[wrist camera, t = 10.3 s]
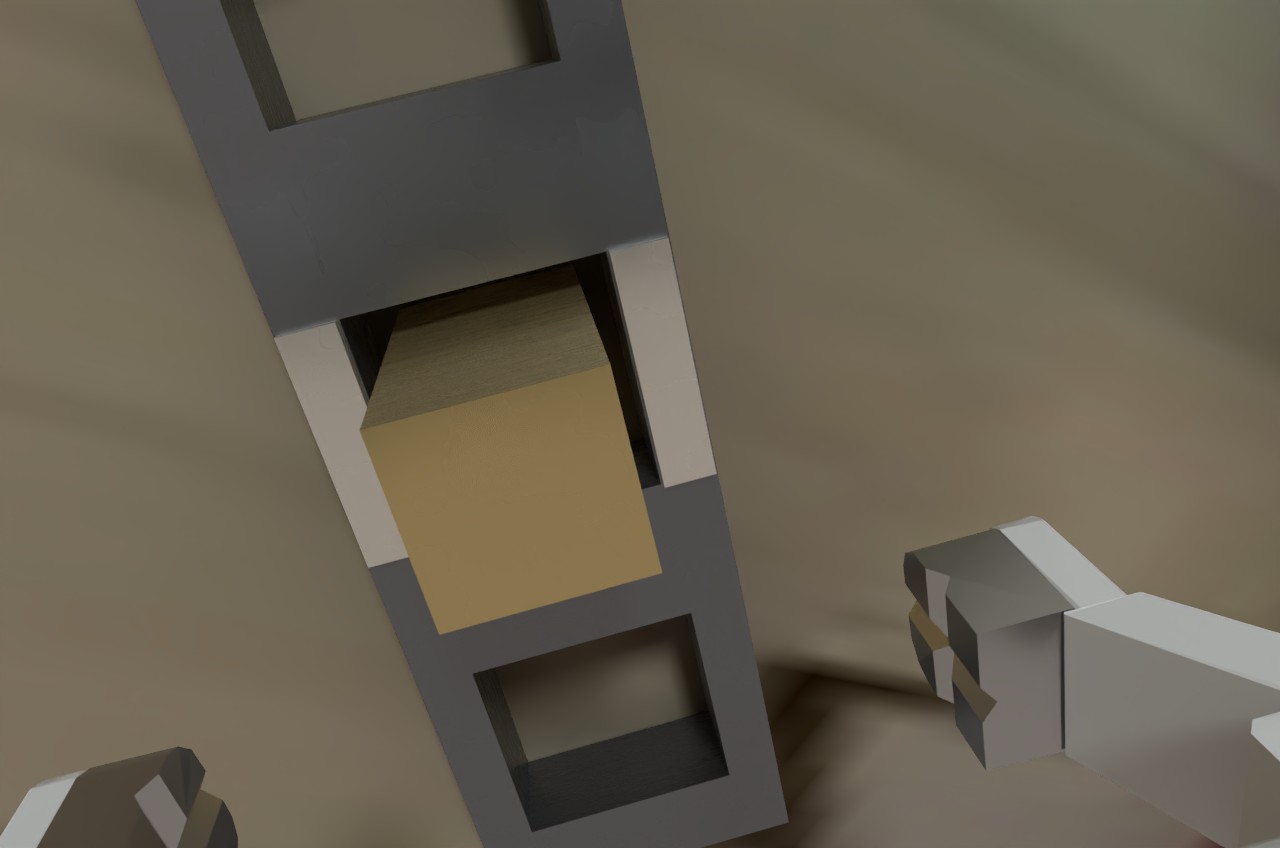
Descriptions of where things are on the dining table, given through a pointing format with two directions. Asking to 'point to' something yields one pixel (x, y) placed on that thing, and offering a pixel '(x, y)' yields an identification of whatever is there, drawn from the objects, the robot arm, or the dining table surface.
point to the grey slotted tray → (465, 256)
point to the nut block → (507, 451)
